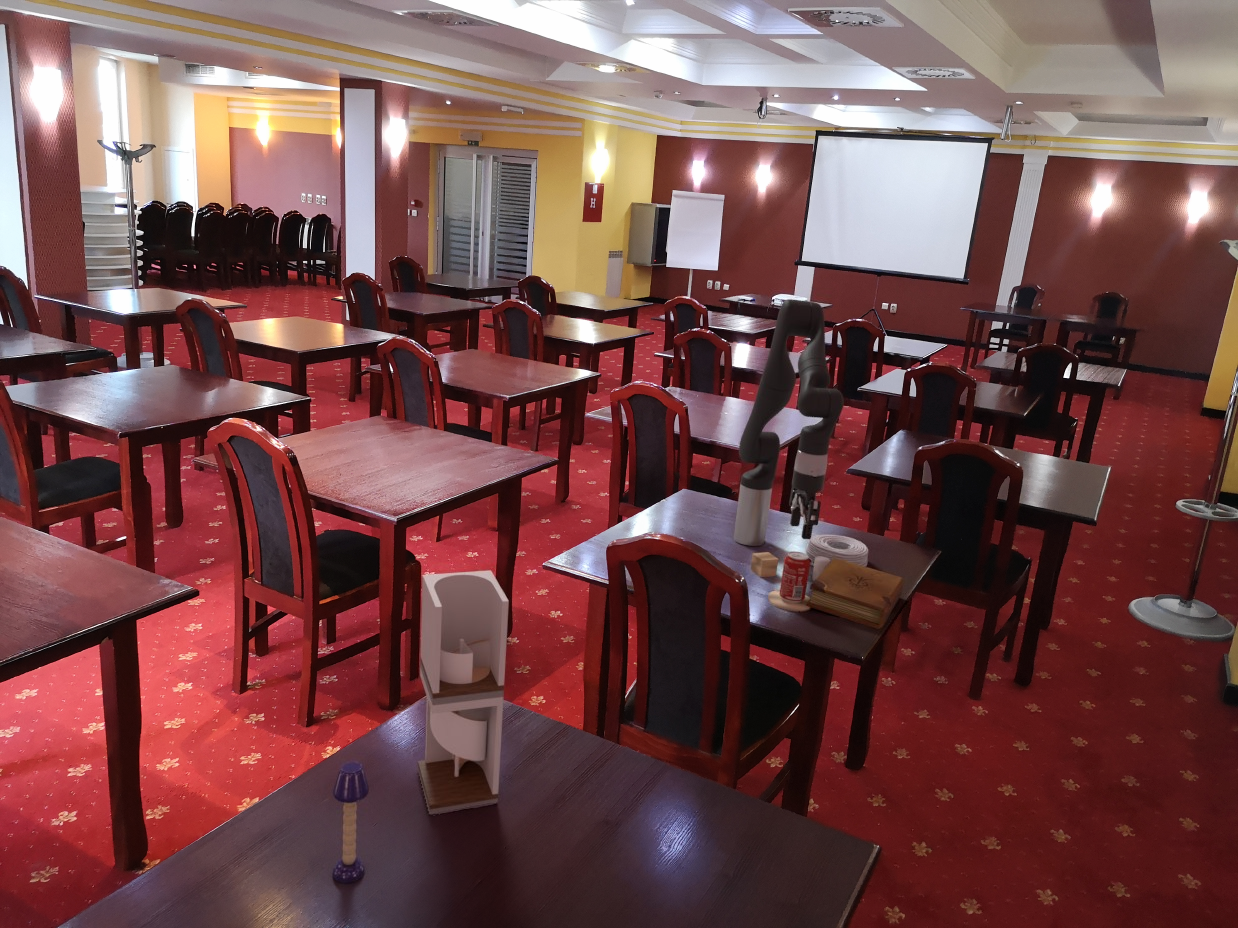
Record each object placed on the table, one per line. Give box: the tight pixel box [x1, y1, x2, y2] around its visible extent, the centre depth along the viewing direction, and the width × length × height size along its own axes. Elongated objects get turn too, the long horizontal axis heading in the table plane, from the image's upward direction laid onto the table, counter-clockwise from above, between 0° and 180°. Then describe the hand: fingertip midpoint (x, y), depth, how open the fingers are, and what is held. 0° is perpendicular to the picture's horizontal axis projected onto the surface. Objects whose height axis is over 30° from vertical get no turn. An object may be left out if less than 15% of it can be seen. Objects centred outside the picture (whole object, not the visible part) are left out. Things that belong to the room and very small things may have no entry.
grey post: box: [811, 556, 830, 582], centre depth 239 cm, size 4×4×6 cm
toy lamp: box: [332, 761, 370, 884], centre depth 122 cm, size 5×5×17 cm
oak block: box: [750, 551, 779, 578], centre depth 241 cm, size 5×5×5 cm
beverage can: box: [779, 550, 811, 604], centre depth 222 cm, size 6×6×12 cm
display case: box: [417, 570, 510, 815], centre depth 139 cm, size 11×11×35 cm
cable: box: [805, 534, 869, 567], centre depth 254 cm, size 18×18×6 cm
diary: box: [806, 558, 905, 630], centre depth 226 cm, size 23×19×6 cm
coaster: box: [767, 589, 812, 613], centre depth 225 cm, size 11×11×1 cm
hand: (800, 532), depth 220 cm, fingers open, 8 cm apart
